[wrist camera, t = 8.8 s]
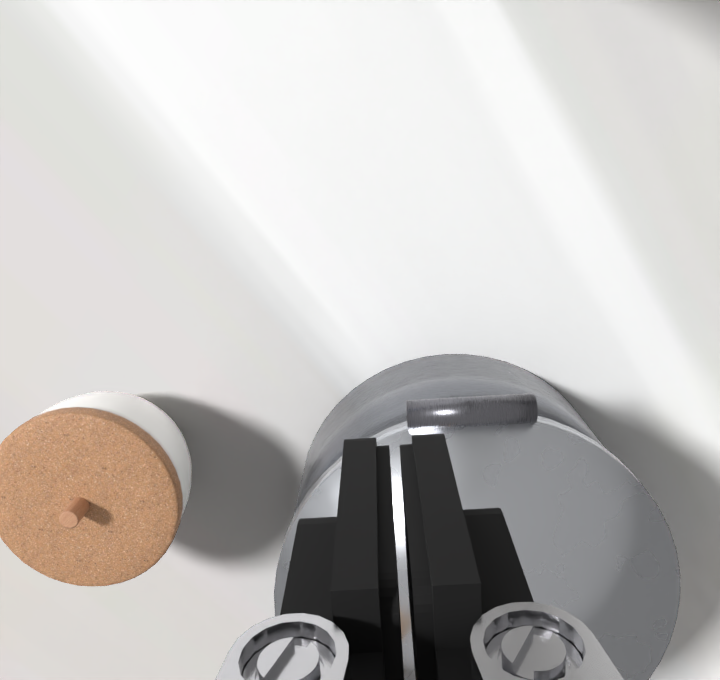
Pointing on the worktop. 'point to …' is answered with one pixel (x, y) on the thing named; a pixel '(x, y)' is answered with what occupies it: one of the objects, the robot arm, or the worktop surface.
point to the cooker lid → (540, 520)
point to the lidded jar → (94, 488)
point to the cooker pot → (425, 381)
